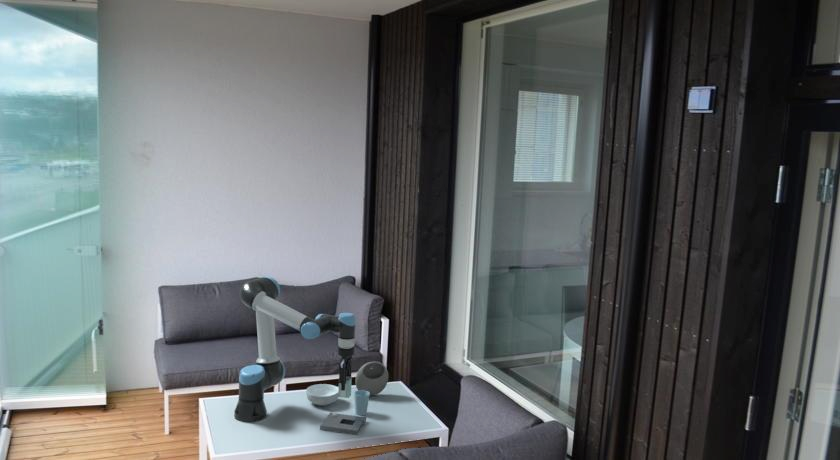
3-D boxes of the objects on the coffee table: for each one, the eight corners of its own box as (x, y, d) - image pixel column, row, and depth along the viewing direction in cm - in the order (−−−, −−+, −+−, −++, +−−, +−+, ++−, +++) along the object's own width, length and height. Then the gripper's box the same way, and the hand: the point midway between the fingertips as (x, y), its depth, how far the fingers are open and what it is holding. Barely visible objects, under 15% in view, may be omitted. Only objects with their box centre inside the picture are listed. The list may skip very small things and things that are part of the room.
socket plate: (319, 429, 326) (319, 423, 325) (330, 416, 341) (330, 410, 341) (357, 434, 323) (357, 429, 322) (365, 421, 338) (366, 415, 338)
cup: (370, 415, 346) (372, 395, 345) (356, 416, 343) (357, 396, 342) (365, 409, 353) (366, 389, 352) (351, 411, 350) (352, 391, 348)
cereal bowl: (311, 395, 367) (311, 382, 366) (342, 398, 365) (342, 385, 364) (301, 407, 350) (302, 393, 349) (333, 411, 348) (334, 397, 347)
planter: (356, 400, 364) (358, 365, 362) (352, 395, 371) (354, 360, 368) (389, 396, 372) (391, 362, 370) (384, 391, 379) (386, 358, 376)
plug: (338, 396, 327) (338, 378, 326) (340, 393, 331) (341, 375, 330) (348, 398, 327) (349, 379, 325) (351, 395, 330) (351, 376, 329)
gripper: (348, 352, 317) (346, 402, 320) (359, 342, 334) (357, 389, 336) (332, 350, 318) (331, 400, 321) (344, 340, 335) (342, 387, 338)
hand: (344, 394), depth 329 cm, fingers closed on plug, 4 cm apart
